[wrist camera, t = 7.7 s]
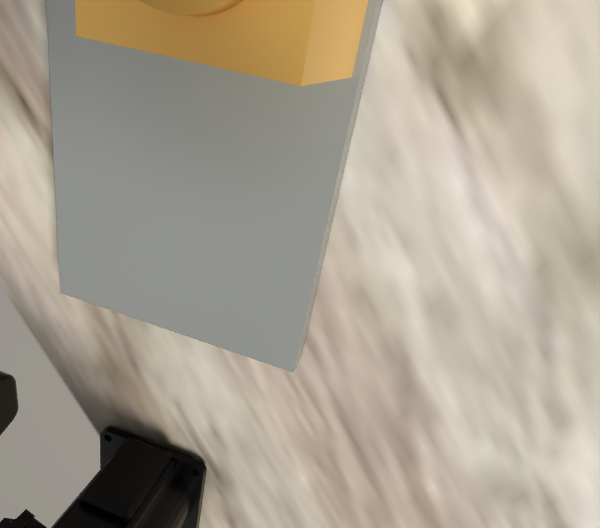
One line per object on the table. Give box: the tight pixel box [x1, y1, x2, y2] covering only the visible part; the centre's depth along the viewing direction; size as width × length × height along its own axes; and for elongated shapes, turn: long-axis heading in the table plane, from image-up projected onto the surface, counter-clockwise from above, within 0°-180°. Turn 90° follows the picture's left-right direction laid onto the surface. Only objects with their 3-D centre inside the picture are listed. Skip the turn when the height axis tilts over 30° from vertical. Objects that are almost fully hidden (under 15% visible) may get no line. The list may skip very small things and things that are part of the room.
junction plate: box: [46, 0, 383, 373], centre depth 17 cm, size 18×12×5 cm, turn 169°
